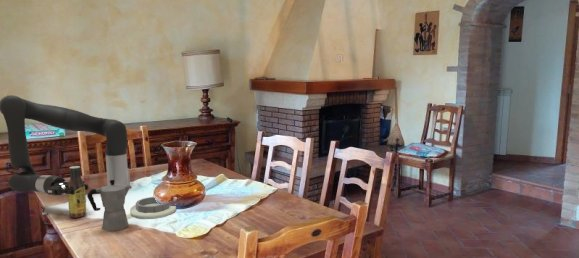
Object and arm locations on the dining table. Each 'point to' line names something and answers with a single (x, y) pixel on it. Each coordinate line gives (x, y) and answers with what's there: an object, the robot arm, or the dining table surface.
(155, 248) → the dining table surface
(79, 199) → the sauce bottle
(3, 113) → the robot arm
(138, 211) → the ring tray
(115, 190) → the coffeepot
